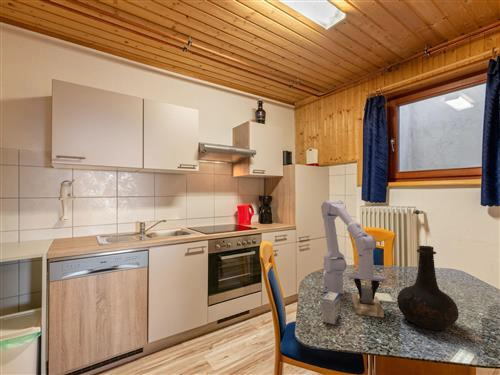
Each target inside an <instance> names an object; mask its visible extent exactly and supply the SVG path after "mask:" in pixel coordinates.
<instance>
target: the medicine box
mask: <svg viewBox="0 0 500 375" xmlns="http://www.w3.org/2000/svg"><path fill="white" fill-rule="evenodd" d="M321 303H322V305H321V306H322V307H321V309H322V310H321V311H322V322H323V323H327V324H331V325H336V323H337V321H338V319H339V317H340V294H339V293H333V292H326V293H325V295H324V296H323V297H322V299H321Z"/></svg>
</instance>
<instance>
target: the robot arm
mask: <svg viewBox="0 0 500 375" xmlns="http://www.w3.org/2000/svg"><path fill="white" fill-rule="evenodd" d="M346 207H347V206H346V204H345V203H344V201H342V200H324V201H323V202H322V204H321V205H320V209H321V215H322V219H323V220H322V221H323V225H324V226H323V227H324V231H325V240H326V248H327V252H326V254H325V255H324V256H323V268H324V271H322V272H323V274H322V275H323V278H322V279H323V283H322V287H323V292H324V293H328V292H333V293H338V294H339V295H340V294H341V295H344V294H345V287H344V273H345V271H346V270H347V266H348V263H347V262H346V259H345V255H344V254H343V253H342V252H340V249H339V248H340V247H339V242H338V234H337V229H336V221H335V220H336V219H337V218H338V217H339V218H340V220H341V221H342V222H343V223H344V224H345V225H346V226H347V227H346V231H347V232H348V233H349V234H350V236H351V237H352V240H354V246H355V248H356V253H357V257H358V258H357V260H358V261H357V262H358V263H357V264H358V267H357V268H358V271H357V272H358V273H347V274H346V275H347V276H346V277H347V280H353V282H354V284H355V286H356V288H357V291H358V295H359V297H360V298H362V295H361V285H362V281H367V282H368V281H369V282H370V286H371V287H372V297H373V300H374V296H375V293H377V291H378V288H379V287H380V283H383V284H387V278H386V276H382V275H381V276H380V275H376V274H374V272H375V271H374V269H375V268H374V250H375V249H376V248H377V240H376V239H375V237H374V236H373V235H370V234H369V233H367V232H366V231H365V230H364V228H363V227H362V226H361V224H360V223H358V222H355V221H354V220H353V218H352V217H351V215H350V213H349V212H348V210H346V209H347V208H346Z"/></svg>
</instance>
